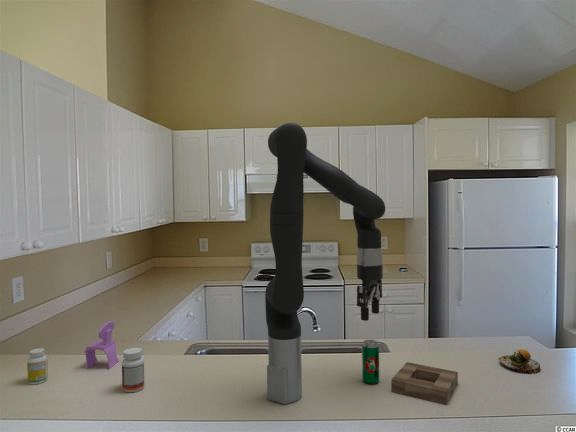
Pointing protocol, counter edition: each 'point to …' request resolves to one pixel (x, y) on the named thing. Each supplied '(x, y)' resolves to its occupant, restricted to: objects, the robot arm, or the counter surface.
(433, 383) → the socket block
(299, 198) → the robot arm
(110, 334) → the toy chair
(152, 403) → the counter surface
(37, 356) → the supplement bottle
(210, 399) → the counter surface
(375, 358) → the soda can
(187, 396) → the counter surface
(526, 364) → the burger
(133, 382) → the pill bottle
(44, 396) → the counter surface
